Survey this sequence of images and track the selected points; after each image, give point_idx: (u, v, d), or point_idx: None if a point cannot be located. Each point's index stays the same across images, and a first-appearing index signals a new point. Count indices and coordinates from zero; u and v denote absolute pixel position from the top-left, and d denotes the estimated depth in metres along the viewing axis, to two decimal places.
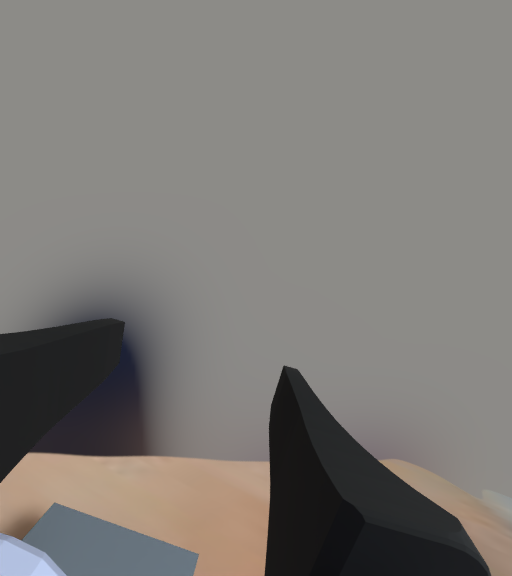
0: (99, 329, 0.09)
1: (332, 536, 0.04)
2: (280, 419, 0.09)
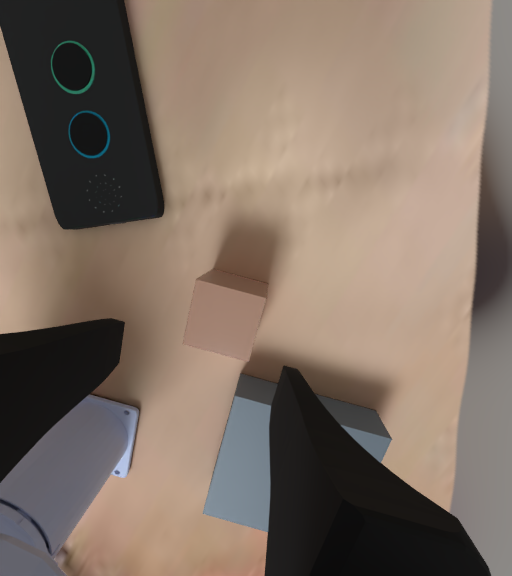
0: (99, 329, 0.09)
1: (332, 535, 0.04)
2: (280, 419, 0.09)
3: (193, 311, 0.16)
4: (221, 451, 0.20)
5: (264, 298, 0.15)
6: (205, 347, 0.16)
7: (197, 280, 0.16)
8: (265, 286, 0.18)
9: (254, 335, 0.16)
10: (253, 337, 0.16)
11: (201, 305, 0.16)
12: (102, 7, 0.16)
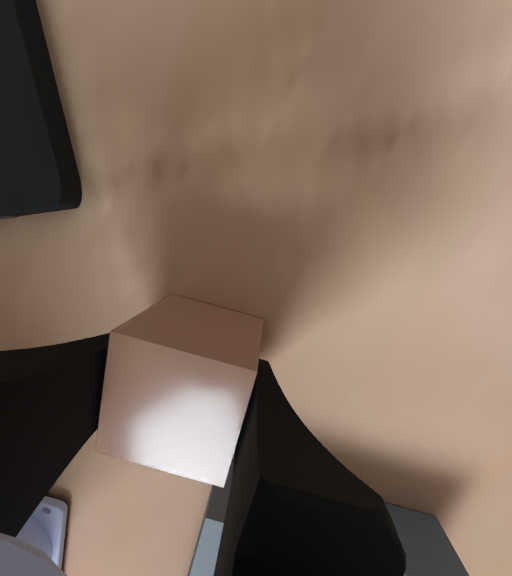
0: None
1: (252, 512, 0.04)
2: None
3: (110, 393, 0.08)
4: None
5: (253, 372, 0.07)
6: (139, 460, 0.08)
7: (113, 333, 0.07)
8: (258, 328, 0.10)
9: (234, 441, 0.08)
10: (232, 445, 0.08)
11: (125, 382, 0.08)
12: None
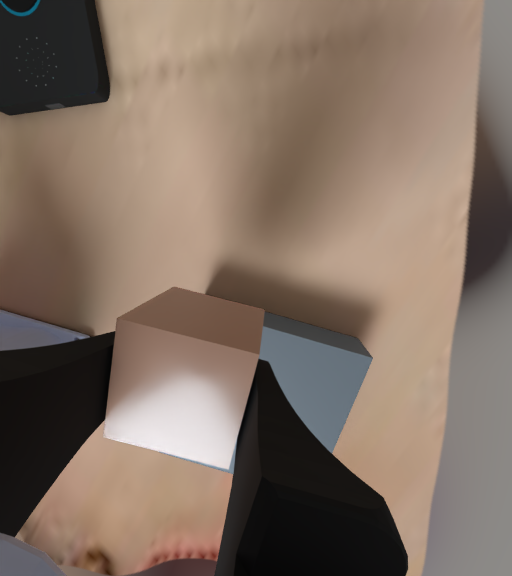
0: None
1: (254, 513, 0.04)
2: (246, 409, 0.09)
3: (117, 379, 0.08)
4: None
5: (255, 355, 0.08)
6: (146, 444, 0.09)
7: (120, 320, 0.08)
8: (259, 318, 0.11)
9: (237, 423, 0.08)
10: (236, 427, 0.08)
11: (131, 367, 0.08)
12: None
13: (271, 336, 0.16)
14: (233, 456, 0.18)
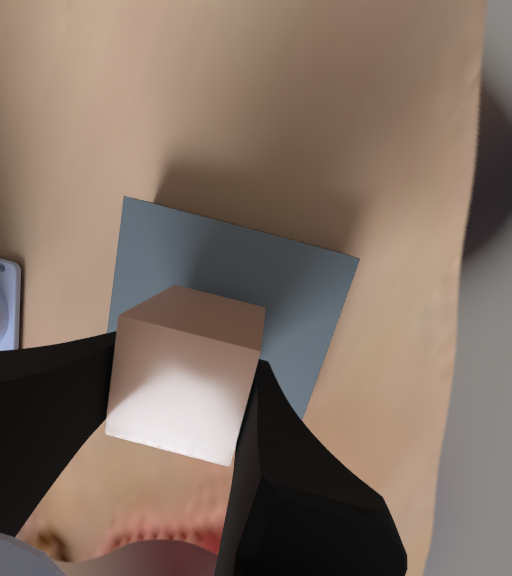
0: None
1: (253, 513, 0.04)
2: (245, 409, 0.09)
3: (119, 376, 0.08)
4: (114, 295, 0.14)
5: (257, 352, 0.08)
6: (147, 441, 0.09)
7: (121, 317, 0.08)
8: (260, 315, 0.11)
9: (239, 420, 0.08)
10: (237, 424, 0.08)
11: (133, 364, 0.08)
12: None
13: (227, 234, 0.12)
14: None
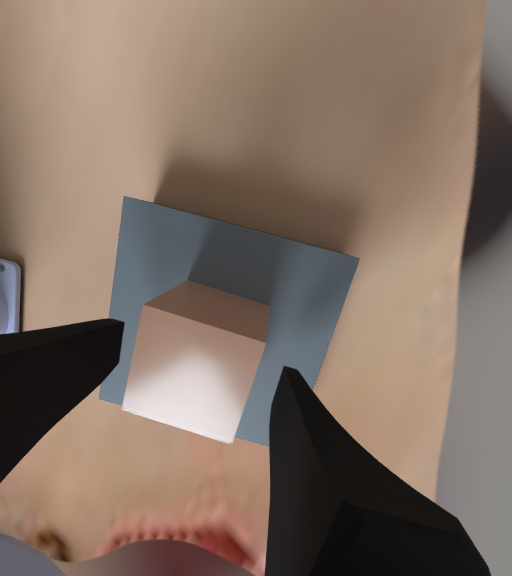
0: (99, 329, 0.09)
1: (332, 536, 0.04)
2: (280, 419, 0.09)
3: (139, 358, 0.09)
4: (114, 295, 0.14)
5: (262, 343, 0.09)
6: (160, 418, 0.10)
7: (145, 306, 0.09)
8: (264, 312, 0.12)
9: (242, 403, 0.09)
10: (241, 406, 0.09)
11: (152, 349, 0.09)
12: None
13: (227, 234, 0.12)
14: None
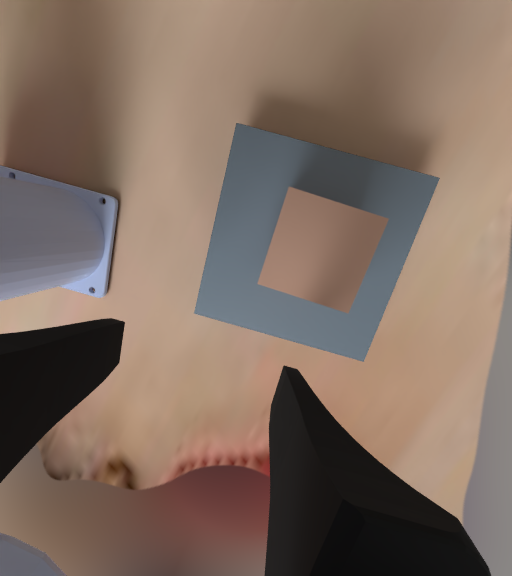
0: (99, 329, 0.09)
1: (332, 536, 0.04)
2: (280, 419, 0.09)
3: (278, 235, 0.11)
4: (218, 214, 0.16)
5: (386, 219, 0.11)
6: (289, 290, 0.12)
7: (290, 188, 0.11)
8: None
9: (362, 274, 0.11)
10: (360, 277, 0.11)
11: (291, 227, 0.11)
12: None
13: (325, 157, 0.14)
14: (276, 314, 0.17)
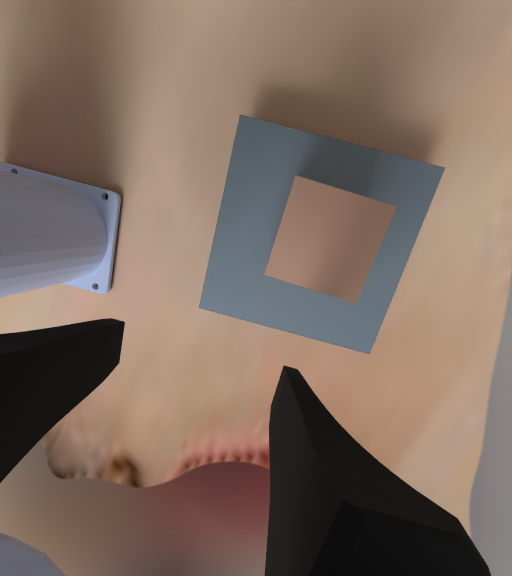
0: (99, 329, 0.09)
1: (332, 536, 0.04)
2: (280, 419, 0.09)
3: (285, 225, 0.11)
4: (222, 207, 0.16)
5: (393, 207, 0.11)
6: (296, 281, 0.12)
7: (297, 177, 0.11)
8: None
9: (370, 263, 0.11)
10: (368, 266, 0.11)
11: (298, 216, 0.11)
12: None
13: (329, 148, 0.14)
14: (282, 307, 0.17)
